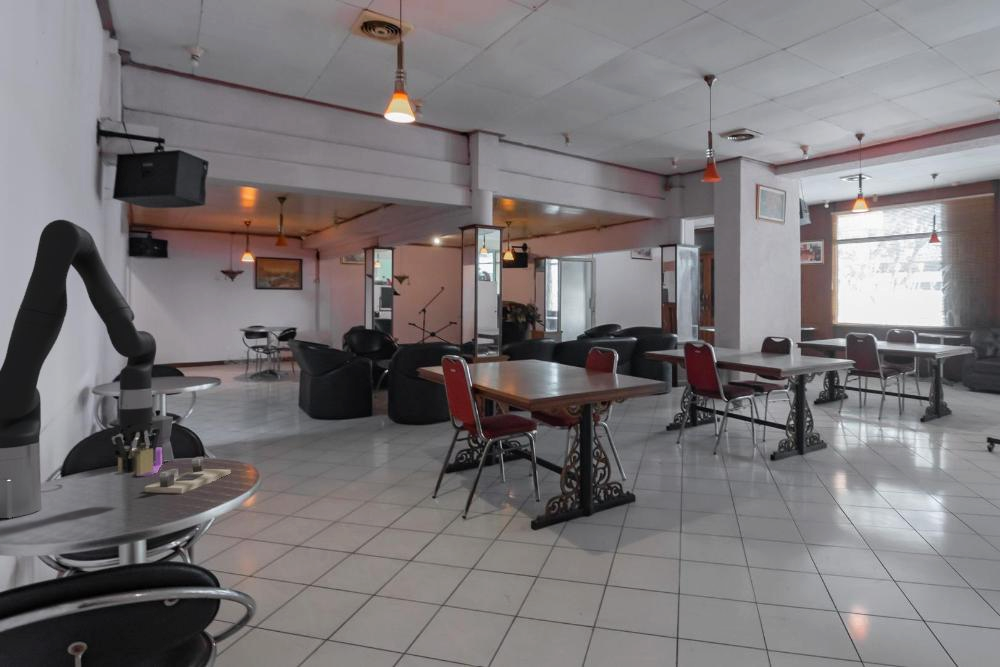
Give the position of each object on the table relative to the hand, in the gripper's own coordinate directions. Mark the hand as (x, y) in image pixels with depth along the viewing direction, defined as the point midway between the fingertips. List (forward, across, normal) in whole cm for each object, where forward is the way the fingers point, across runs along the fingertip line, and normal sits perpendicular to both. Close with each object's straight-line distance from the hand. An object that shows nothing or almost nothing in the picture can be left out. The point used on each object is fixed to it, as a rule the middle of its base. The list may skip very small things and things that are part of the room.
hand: (135, 470), depth 145 cm
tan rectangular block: (0, 0, 0) cm, 0 cm away
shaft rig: (+8, +18, -1) cm, 19 cm away
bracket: (+9, +28, +23) cm, 37 cm away
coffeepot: (+8, +39, +31) cm, 51 cm away
